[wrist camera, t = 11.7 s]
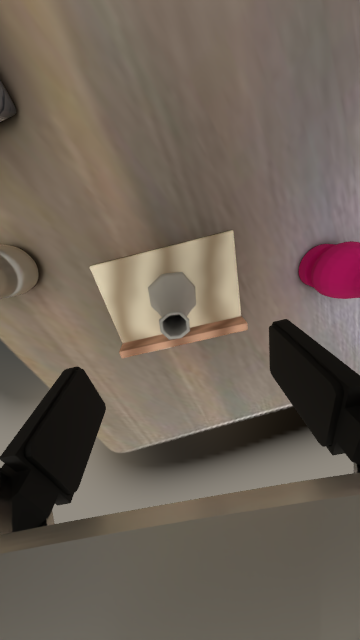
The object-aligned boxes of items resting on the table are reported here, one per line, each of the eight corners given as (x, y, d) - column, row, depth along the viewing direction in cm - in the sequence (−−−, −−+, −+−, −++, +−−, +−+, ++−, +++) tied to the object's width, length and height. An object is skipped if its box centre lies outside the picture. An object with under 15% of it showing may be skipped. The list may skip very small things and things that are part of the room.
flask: (203, 306, 29) (219, 340, 20) (161, 324, 30) (158, 364, 21) (185, 262, 26) (194, 279, 17) (139, 284, 27) (124, 310, 18)
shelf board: (229, 230, 26) (239, 230, 22) (238, 320, 32) (247, 331, 28) (93, 265, 27) (81, 270, 23) (127, 345, 33) (122, 359, 29)
